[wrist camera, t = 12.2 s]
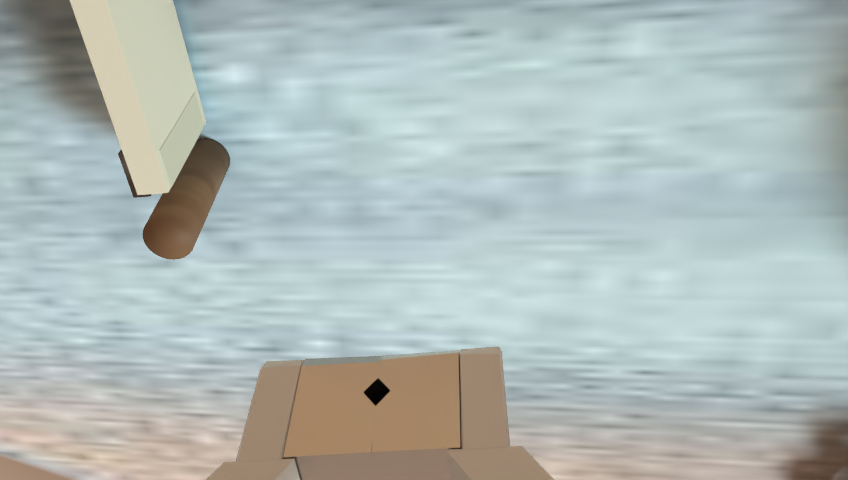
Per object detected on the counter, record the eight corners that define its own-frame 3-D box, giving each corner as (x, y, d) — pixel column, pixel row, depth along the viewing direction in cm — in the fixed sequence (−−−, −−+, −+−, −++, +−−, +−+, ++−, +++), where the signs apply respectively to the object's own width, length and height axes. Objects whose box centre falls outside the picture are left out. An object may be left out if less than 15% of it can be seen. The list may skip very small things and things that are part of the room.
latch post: (154, 101, 36) (103, 175, 30) (213, 96, 36) (172, 170, 30) (178, 179, 38) (135, 262, 33) (234, 175, 38) (199, 257, 32)
